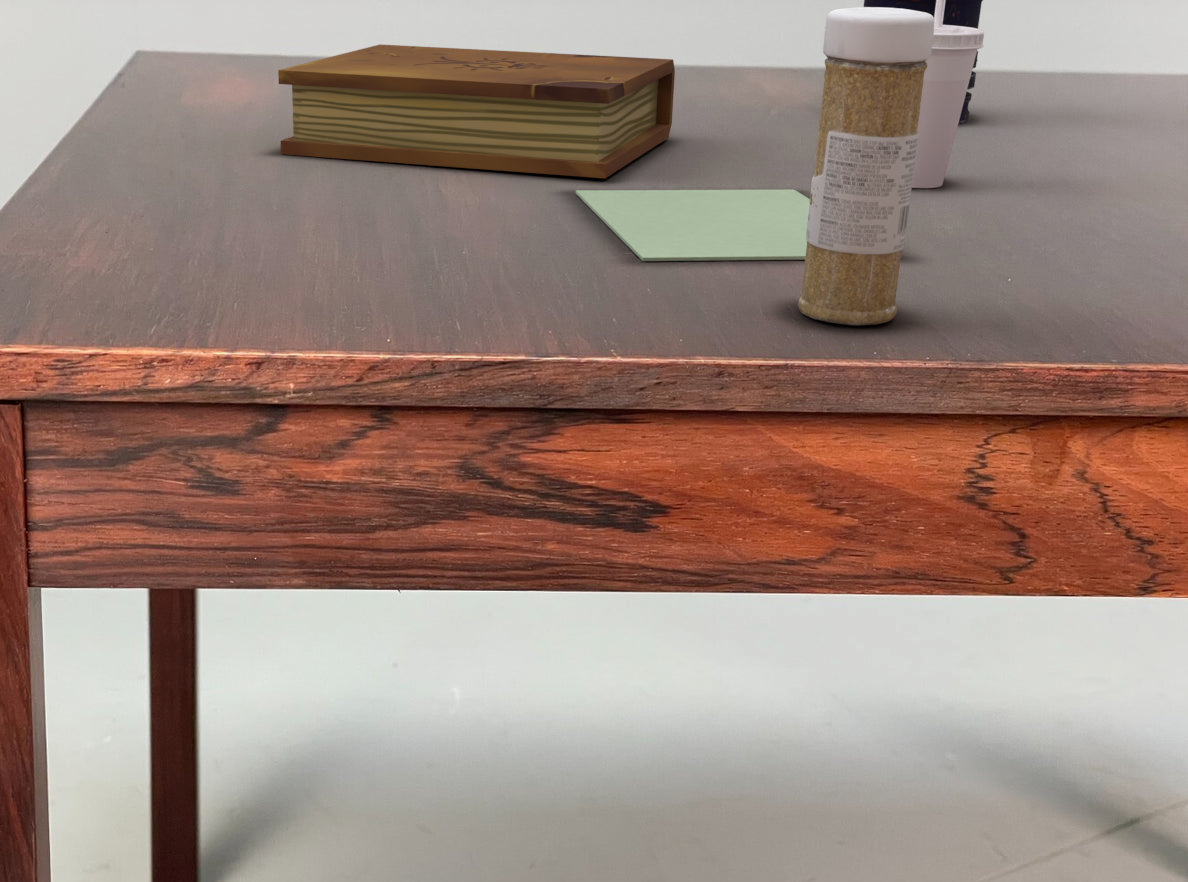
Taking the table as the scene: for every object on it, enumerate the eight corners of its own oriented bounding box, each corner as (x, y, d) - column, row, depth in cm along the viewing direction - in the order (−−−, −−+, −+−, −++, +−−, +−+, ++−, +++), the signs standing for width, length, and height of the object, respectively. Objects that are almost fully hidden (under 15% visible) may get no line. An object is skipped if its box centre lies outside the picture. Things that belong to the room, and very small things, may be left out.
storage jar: (906, 104, 140) (929, -81, 135) (995, 120, 133) (1024, -75, 127) (822, 111, 135) (842, -81, 130) (909, 128, 128) (935, -75, 122)
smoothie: (891, 193, 103) (920, -42, 97) (846, 174, 108) (871, -48, 103) (982, 190, 104) (1016, -41, 99) (933, 172, 110) (962, -47, 104)
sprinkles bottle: (818, 298, 78) (849, 3, 72) (911, 313, 75) (950, 10, 70) (780, 318, 74) (811, 9, 69) (877, 334, 72) (916, 17, 67)
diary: (670, 138, 121) (676, 58, 118) (605, 181, 104) (610, 89, 102) (383, 117, 127) (383, 40, 125) (280, 154, 111) (278, 66, 109)
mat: (901, 258, 86) (901, 254, 86) (642, 261, 84) (642, 257, 84) (793, 192, 102) (794, 189, 102) (575, 193, 100) (575, 190, 100)
